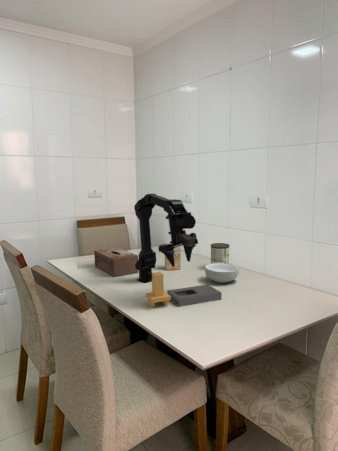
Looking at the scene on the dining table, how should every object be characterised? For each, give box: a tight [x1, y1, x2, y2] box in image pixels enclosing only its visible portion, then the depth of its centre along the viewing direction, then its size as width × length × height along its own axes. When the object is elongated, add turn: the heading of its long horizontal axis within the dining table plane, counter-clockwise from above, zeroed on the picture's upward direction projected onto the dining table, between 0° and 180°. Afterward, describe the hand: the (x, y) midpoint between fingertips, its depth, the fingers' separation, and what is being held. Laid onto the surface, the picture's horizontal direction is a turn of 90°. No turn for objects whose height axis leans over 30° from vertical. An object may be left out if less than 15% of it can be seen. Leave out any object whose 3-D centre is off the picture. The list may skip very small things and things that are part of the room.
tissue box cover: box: [93, 247, 139, 278], centre depth 198 cm, size 26×14×10 cm, turn 34°
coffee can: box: [210, 242, 230, 264], centre depth 196 cm, size 10×10×14 cm
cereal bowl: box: [204, 263, 240, 284], centre depth 177 cm, size 17×17×7 cm
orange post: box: [145, 271, 172, 308], centre depth 145 cm, size 8×8×13 cm
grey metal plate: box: [166, 284, 222, 307], centre depth 152 cm, size 12×20×3 cm, turn 114°
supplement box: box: [164, 246, 182, 271], centre depth 198 cm, size 8×5×13 cm, turn 105°
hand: (181, 263), depth 155 cm, fingers open, 9 cm apart
